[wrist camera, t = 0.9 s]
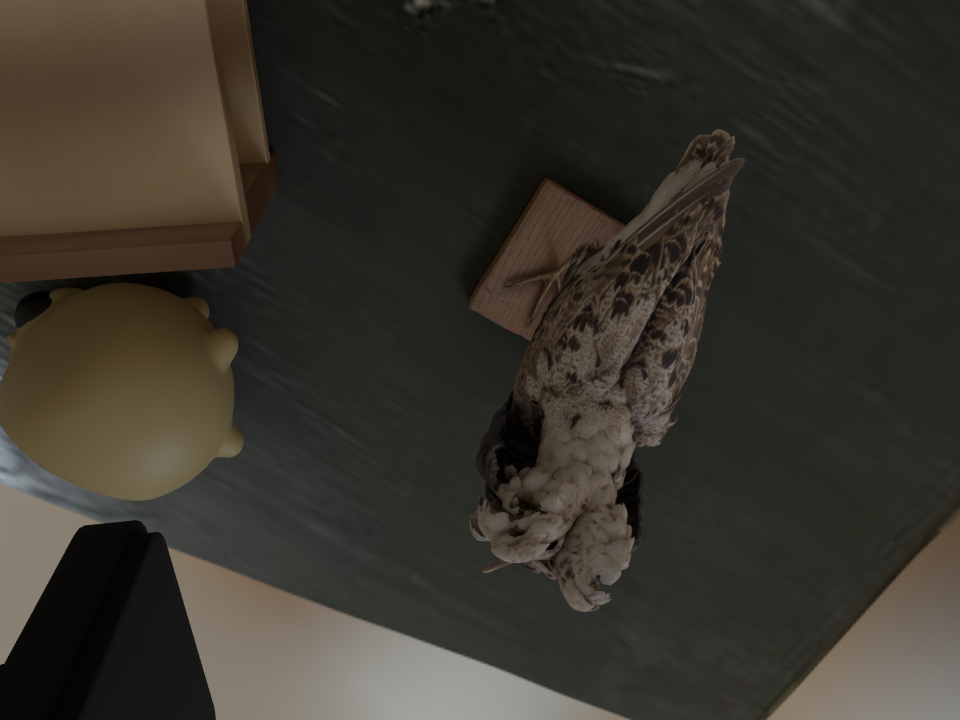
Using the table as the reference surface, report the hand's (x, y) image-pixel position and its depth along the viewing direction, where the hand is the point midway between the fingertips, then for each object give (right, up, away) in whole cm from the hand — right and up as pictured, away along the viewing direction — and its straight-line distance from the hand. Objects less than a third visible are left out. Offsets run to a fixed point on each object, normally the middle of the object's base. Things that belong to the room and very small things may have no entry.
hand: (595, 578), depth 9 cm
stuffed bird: (+3, +7, +35) cm, 36 cm away
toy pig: (-19, +3, +34) cm, 39 cm away
